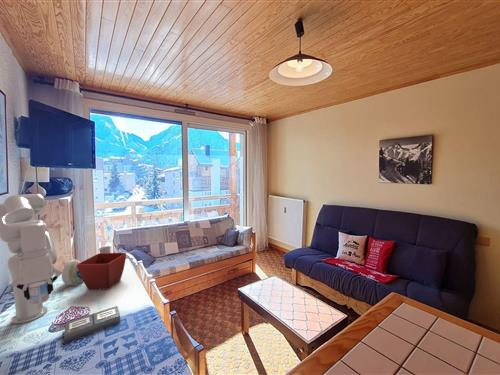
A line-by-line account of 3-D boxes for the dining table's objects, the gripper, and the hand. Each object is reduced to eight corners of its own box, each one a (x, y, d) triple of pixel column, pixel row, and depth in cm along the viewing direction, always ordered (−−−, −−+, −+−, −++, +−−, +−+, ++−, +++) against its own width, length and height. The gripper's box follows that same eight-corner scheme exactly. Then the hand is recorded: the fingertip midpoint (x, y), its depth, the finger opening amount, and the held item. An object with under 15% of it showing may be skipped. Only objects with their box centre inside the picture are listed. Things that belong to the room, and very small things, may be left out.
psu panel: (64, 341, 94) (64, 333, 94) (66, 329, 102) (65, 321, 102) (120, 321, 106) (120, 314, 106) (117, 311, 114) (117, 305, 114)
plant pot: (100, 277, 153) (98, 253, 152) (128, 277, 153) (126, 252, 151) (78, 292, 134) (75, 264, 133) (110, 292, 134) (107, 263, 132)
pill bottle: (47, 295, 100) (45, 270, 100) (51, 300, 97) (48, 274, 96) (28, 302, 96) (26, 275, 95) (31, 307, 92) (28, 279, 91)
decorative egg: (76, 287, 141) (74, 263, 140) (57, 287, 142) (55, 263, 141) (91, 278, 153) (89, 256, 152) (73, 278, 154) (71, 256, 153)
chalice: (109, 270, 165) (107, 245, 164) (114, 272, 161) (112, 247, 160) (98, 274, 159) (96, 248, 157) (103, 276, 155) (101, 250, 154)
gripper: (2, 261, 87) (7, 307, 88) (61, 250, 97) (65, 292, 98) (7, 255, 93) (12, 299, 94) (62, 246, 103) (66, 285, 104)
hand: (39, 295), depth 96 cm, fingers closed on pill bottle, 6 cm apart
